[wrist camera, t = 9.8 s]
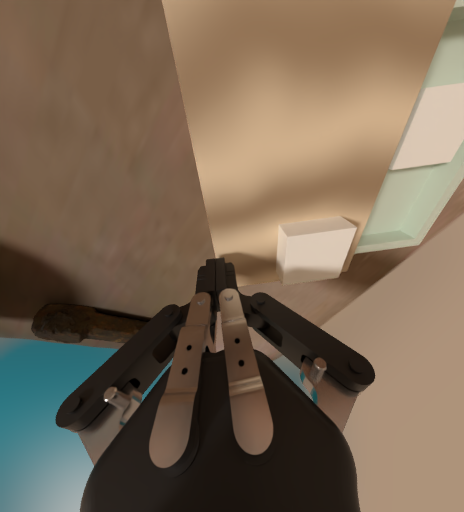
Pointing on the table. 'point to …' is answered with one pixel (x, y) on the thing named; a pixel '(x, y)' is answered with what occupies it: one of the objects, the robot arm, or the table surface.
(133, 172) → the table surface
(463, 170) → the tray
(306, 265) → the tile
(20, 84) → the table surface
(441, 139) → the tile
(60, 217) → the table surface
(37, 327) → the hand tool
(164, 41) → the table surface
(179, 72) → the light wood flat block
